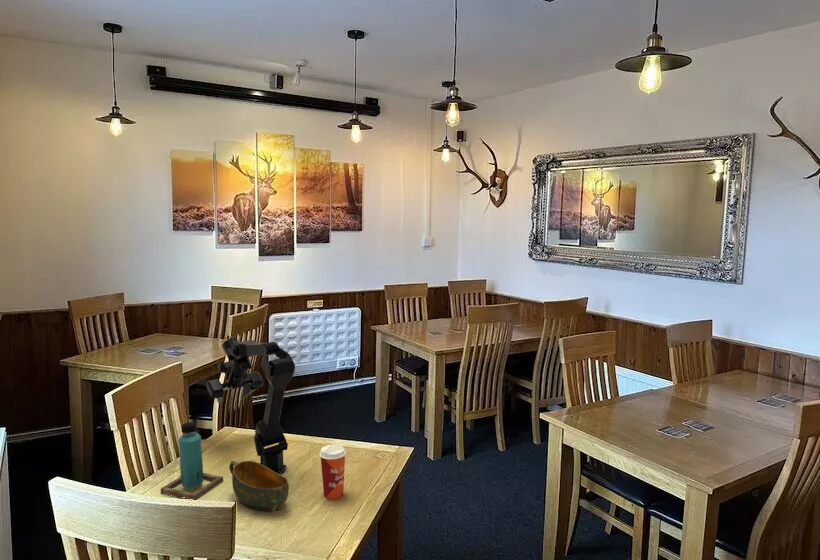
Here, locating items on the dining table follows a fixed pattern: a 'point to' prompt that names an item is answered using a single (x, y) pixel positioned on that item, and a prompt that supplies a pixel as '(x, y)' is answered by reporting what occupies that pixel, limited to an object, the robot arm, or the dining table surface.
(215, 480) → the walnut collar
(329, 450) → the paper cup
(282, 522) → the dining table surface
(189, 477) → the beverage bottle
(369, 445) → the dining table surface
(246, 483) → the green bowl
